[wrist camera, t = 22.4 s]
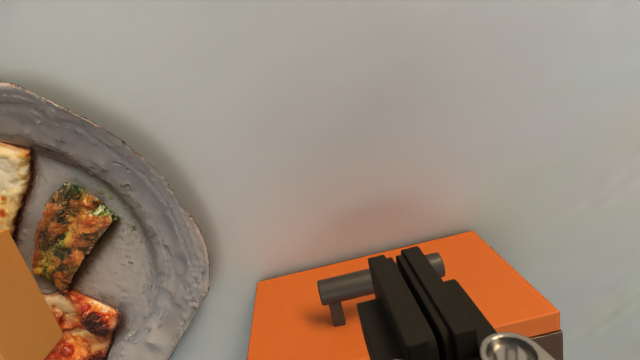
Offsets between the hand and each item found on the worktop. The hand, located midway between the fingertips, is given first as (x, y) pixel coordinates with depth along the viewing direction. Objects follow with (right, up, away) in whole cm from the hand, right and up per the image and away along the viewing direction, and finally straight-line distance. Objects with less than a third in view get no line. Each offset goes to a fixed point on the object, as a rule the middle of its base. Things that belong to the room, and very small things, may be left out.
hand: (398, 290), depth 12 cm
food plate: (-23, -2, +15) cm, 27 cm away
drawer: (+2, -7, +18) cm, 19 cm away
